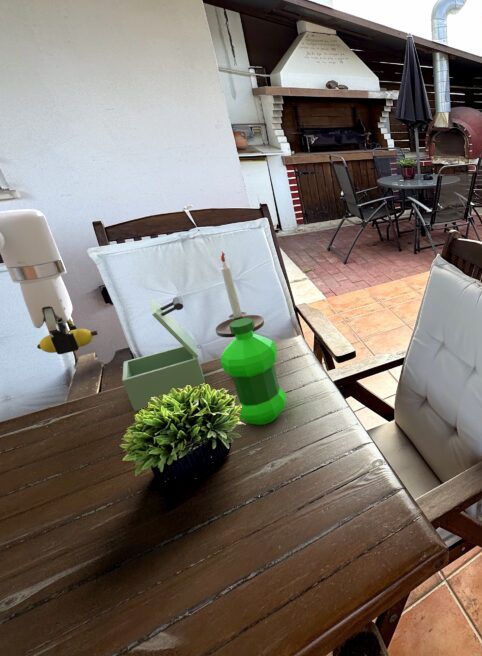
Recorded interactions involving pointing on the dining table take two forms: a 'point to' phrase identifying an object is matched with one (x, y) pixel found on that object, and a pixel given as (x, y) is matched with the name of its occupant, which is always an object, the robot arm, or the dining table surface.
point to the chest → (160, 374)
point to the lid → (174, 323)
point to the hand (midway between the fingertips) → (69, 346)
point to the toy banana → (80, 336)
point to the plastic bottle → (253, 373)
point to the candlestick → (234, 305)
